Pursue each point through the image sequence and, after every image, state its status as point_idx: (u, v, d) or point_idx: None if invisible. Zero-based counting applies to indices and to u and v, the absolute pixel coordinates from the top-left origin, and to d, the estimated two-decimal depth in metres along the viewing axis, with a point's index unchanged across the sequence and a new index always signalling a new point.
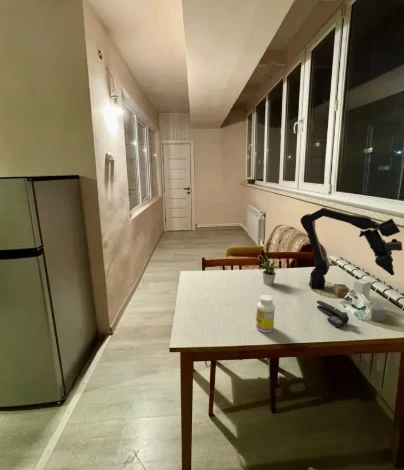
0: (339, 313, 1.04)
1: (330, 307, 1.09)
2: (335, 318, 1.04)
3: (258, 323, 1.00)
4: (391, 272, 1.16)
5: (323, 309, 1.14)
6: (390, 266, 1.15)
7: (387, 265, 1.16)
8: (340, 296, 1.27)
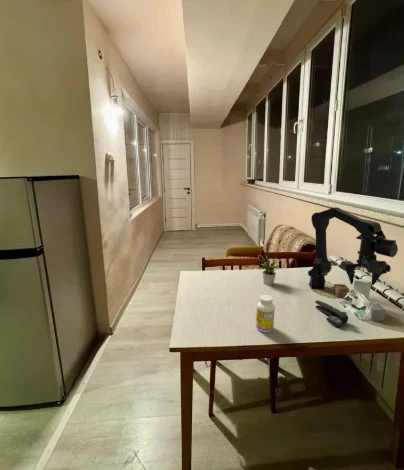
0: (338, 313, 1.04)
1: (329, 307, 1.09)
2: (335, 318, 1.05)
3: (258, 323, 1.00)
4: (350, 281, 1.18)
5: (322, 309, 1.14)
6: None
7: (350, 273, 1.17)
8: (340, 296, 1.27)
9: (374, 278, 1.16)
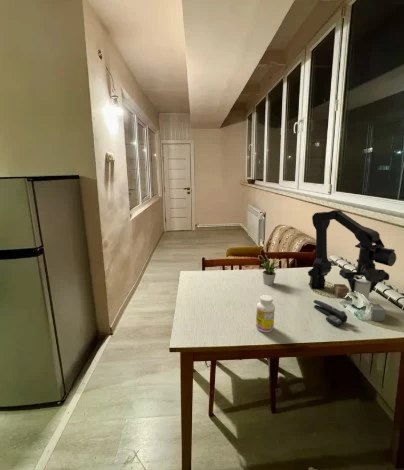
0: (338, 312, 1.05)
1: (328, 306, 1.10)
2: (334, 317, 1.05)
3: (258, 323, 1.00)
4: (351, 289, 1.18)
5: (320, 308, 1.14)
6: (351, 283, 1.17)
7: (351, 281, 1.18)
8: (340, 296, 1.27)
9: (371, 286, 1.17)
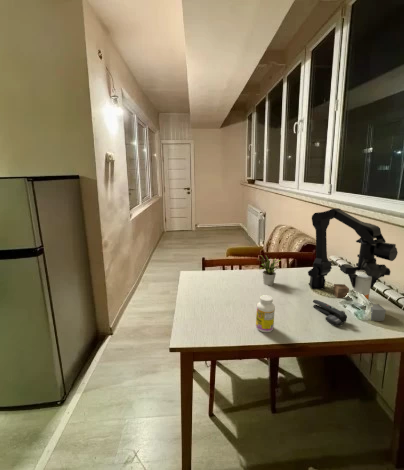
0: (337, 312, 1.05)
1: (327, 306, 1.10)
2: (333, 317, 1.05)
3: (258, 323, 1.00)
4: (352, 284, 1.18)
5: (320, 308, 1.15)
6: (352, 279, 1.16)
7: (352, 276, 1.17)
8: (340, 296, 1.27)
9: (372, 281, 1.17)
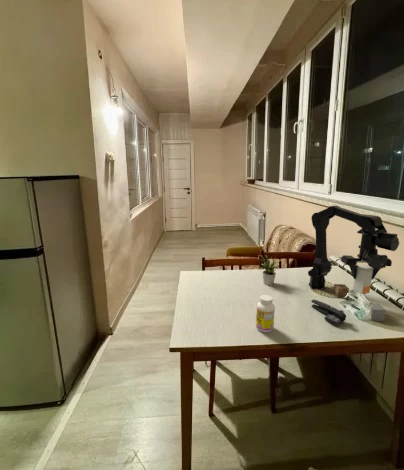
0: (336, 311, 1.05)
1: (326, 306, 1.10)
2: (332, 316, 1.06)
3: (258, 323, 1.00)
4: (353, 275, 1.17)
5: (318, 308, 1.15)
6: None
7: (353, 268, 1.16)
8: (340, 296, 1.27)
9: (373, 272, 1.16)
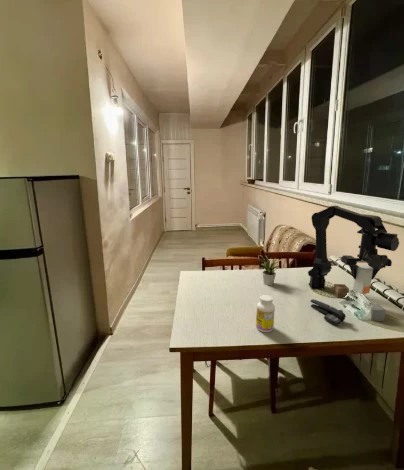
0: (336, 311, 1.06)
1: (325, 305, 1.10)
2: (332, 316, 1.06)
3: (258, 323, 1.00)
4: (353, 275, 1.17)
5: (318, 308, 1.15)
6: None
7: (353, 268, 1.16)
8: (340, 296, 1.27)
9: (373, 272, 1.16)
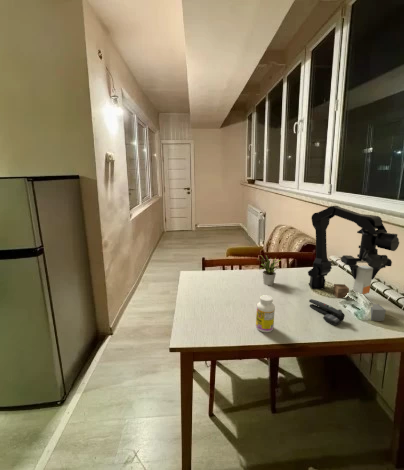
0: (335, 311, 1.06)
1: (324, 305, 1.10)
2: (331, 316, 1.06)
3: (258, 323, 1.00)
4: (353, 275, 1.17)
5: (316, 307, 1.15)
6: None
7: (353, 268, 1.16)
8: (340, 296, 1.27)
9: (373, 272, 1.16)
